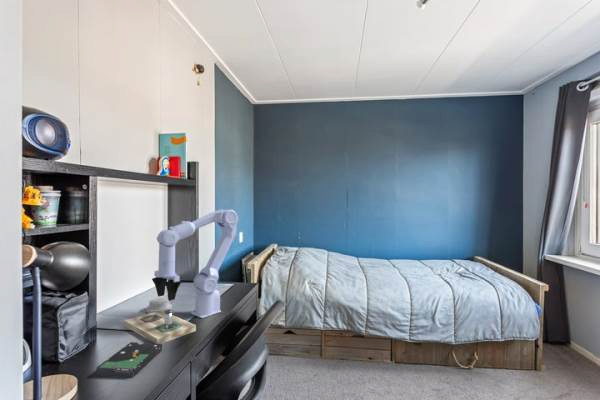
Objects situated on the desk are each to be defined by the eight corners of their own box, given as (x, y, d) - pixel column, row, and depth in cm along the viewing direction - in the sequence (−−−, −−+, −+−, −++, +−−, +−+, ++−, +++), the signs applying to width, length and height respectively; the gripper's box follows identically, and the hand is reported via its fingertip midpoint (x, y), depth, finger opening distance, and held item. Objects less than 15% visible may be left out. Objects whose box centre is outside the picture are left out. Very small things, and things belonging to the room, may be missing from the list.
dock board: (161, 315, 122) (161, 309, 122) (195, 330, 108) (196, 324, 108) (124, 325, 111) (124, 319, 111) (157, 345, 97) (157, 337, 97)
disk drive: (129, 351, 94) (95, 377, 79) (130, 341, 94) (95, 367, 79) (162, 352, 93) (133, 379, 79) (162, 343, 93) (134, 368, 79)
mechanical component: (161, 304, 135) (140, 311, 126) (161, 294, 135) (140, 301, 127) (176, 308, 131) (156, 316, 122) (177, 298, 131) (156, 305, 122)
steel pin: (169, 330, 108) (170, 308, 108) (173, 332, 106) (174, 310, 106) (162, 333, 106) (162, 310, 106) (166, 335, 104) (166, 312, 104)
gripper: (146, 260, 116) (146, 296, 116) (166, 266, 107) (166, 304, 107) (164, 258, 122) (163, 292, 121) (185, 263, 113) (184, 299, 113)
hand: (166, 297), depth 115 cm, fingers open, 7 cm apart
